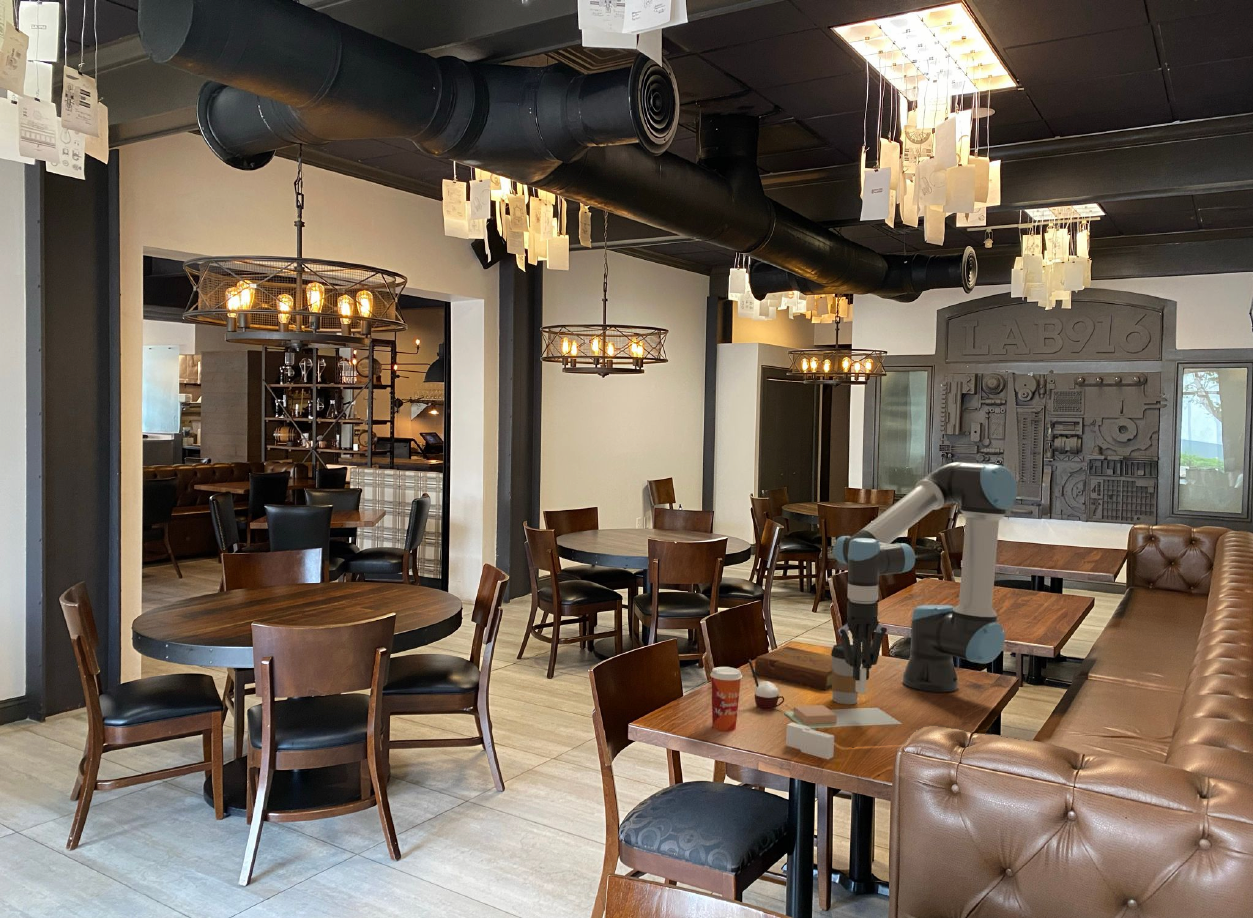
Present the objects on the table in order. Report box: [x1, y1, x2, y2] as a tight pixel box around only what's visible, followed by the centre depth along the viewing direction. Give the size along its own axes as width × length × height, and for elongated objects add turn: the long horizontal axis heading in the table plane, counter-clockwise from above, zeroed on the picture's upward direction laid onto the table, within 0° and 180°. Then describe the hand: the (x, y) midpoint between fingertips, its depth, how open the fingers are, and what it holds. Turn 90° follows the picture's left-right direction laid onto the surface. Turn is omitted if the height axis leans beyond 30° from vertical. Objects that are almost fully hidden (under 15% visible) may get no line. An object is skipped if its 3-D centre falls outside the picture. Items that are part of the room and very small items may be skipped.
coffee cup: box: [830, 643, 862, 706], centre depth 256 cm, size 8×8×15 cm
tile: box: [793, 704, 837, 724], centre depth 241 cm, size 2×8×8 cm
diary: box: [754, 646, 832, 692], centre depth 282 cm, size 23×19×6 cm
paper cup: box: [710, 666, 743, 732], centre depth 233 cm, size 8×8×14 cm
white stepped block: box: [785, 721, 835, 760], centre depth 219 cm, size 15×11×6 cm
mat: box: [783, 707, 903, 731], centre depth 242 cm, size 26×13×1 cm, turn 103°
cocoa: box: [748, 659, 785, 711], centre depth 250 cm, size 10×6×12 cm, turn 55°
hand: (860, 692), depth 244 cm, fingers closed
